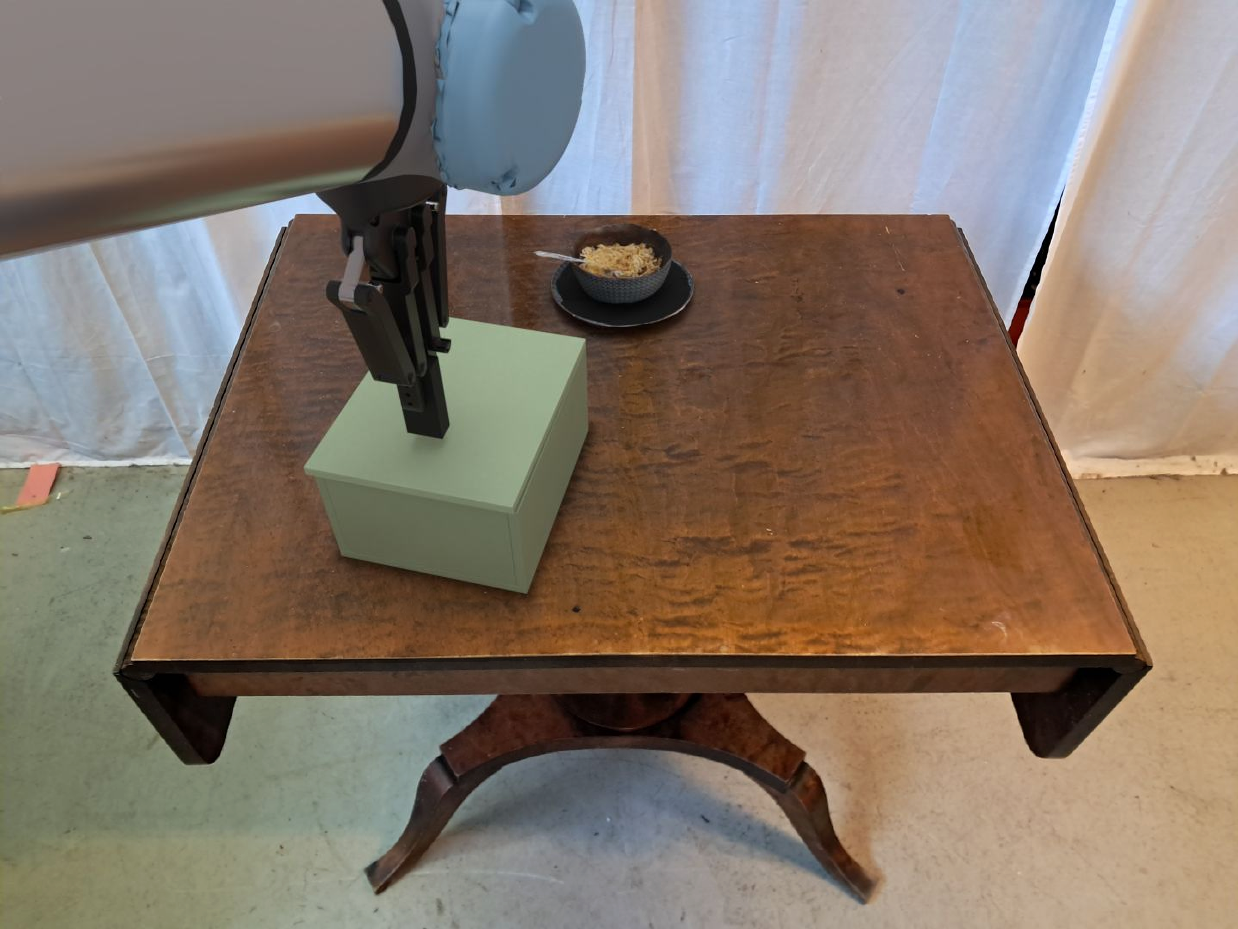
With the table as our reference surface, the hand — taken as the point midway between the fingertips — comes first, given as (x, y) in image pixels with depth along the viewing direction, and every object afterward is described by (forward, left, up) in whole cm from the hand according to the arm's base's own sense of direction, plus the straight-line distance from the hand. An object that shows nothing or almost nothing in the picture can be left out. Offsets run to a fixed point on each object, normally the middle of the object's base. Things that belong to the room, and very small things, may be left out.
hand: (428, 428), depth 68 cm
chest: (+4, +3, -12) cm, 13 cm away
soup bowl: (+32, +14, -13) cm, 37 cm away
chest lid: (+4, +2, -2) cm, 5 cm away
